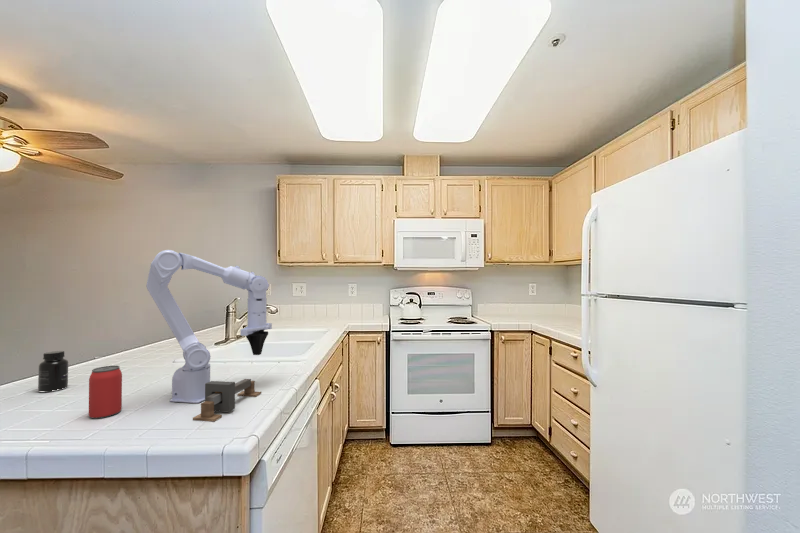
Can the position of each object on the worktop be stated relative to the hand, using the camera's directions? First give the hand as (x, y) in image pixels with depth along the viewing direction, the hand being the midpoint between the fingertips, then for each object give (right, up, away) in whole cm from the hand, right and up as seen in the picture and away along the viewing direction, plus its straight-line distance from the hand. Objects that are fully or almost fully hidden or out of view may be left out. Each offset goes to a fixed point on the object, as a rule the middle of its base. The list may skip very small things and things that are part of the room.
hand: (257, 354), depth 112 cm
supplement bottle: (-66, -12, 0) cm, 67 cm away
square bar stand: (-1, -10, -16) cm, 19 cm away
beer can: (-31, -10, -21) cm, 39 cm away
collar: (-1, -10, -21) cm, 23 cm away
